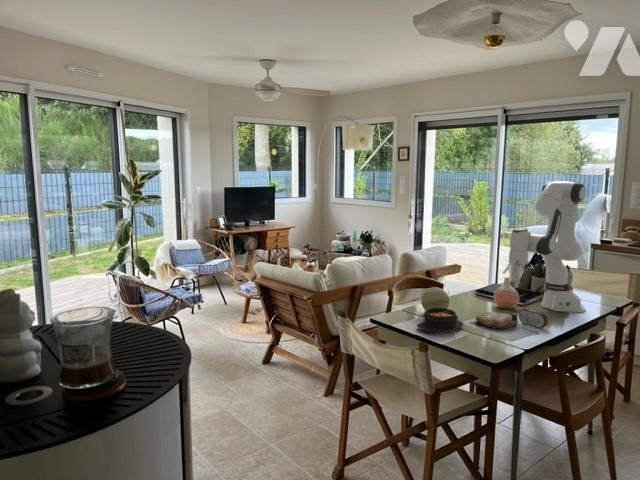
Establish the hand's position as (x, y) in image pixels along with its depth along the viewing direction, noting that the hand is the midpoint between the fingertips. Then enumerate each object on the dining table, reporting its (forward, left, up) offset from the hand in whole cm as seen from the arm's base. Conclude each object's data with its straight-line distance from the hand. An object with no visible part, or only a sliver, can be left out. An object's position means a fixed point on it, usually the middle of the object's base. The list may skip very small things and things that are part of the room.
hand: (516, 286), depth 247 cm
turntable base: (+9, +7, -19) cm, 22 cm away
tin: (-8, +4, -19) cm, 21 cm away
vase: (+5, -24, -19) cm, 32 cm away
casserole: (+35, +24, -20) cm, 46 cm away
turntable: (+9, +6, -18) cm, 21 cm away
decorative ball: (+41, +2, -19) cm, 45 cm away
